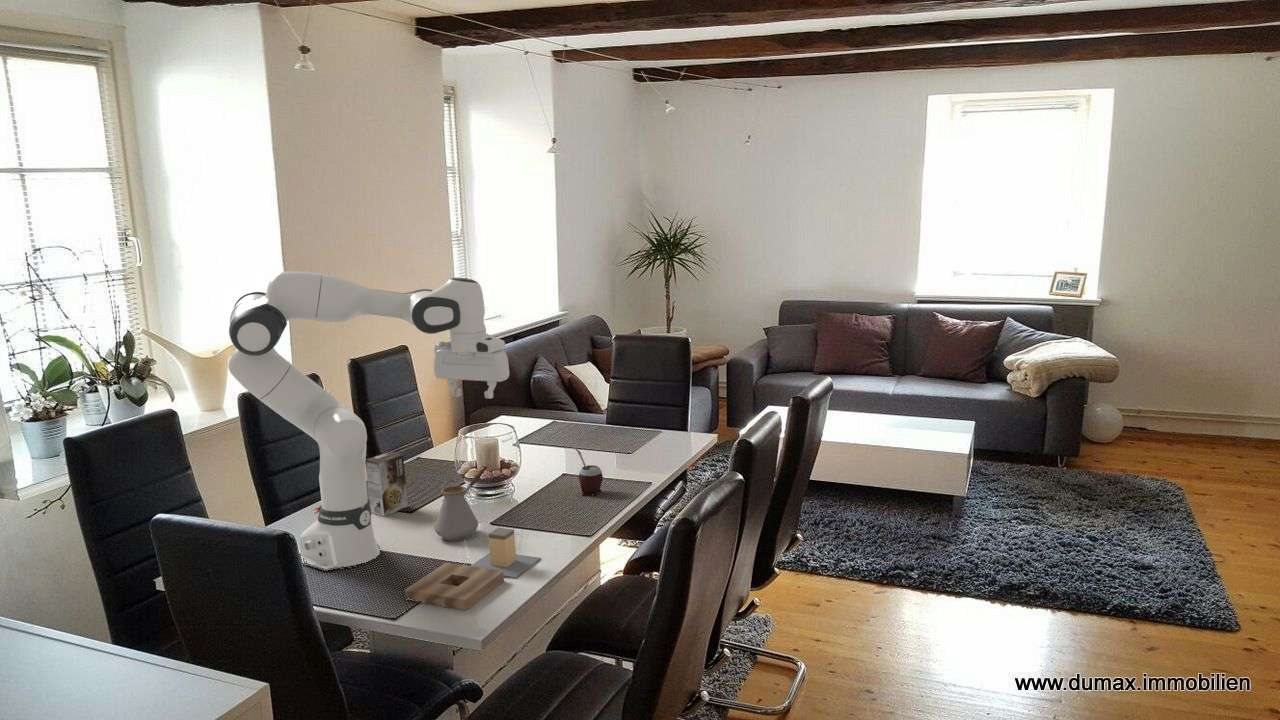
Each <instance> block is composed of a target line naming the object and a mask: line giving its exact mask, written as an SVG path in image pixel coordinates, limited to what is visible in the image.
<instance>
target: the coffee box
mask: <svg viewBox="0 0 1280 720" xmlns="http://www.w3.org/2000/svg"><path fill="white" fill-rule="evenodd" d="M404 461H405V460H404V454H401V453H398V452H393V451H387V452H385V453H381V454H378V455H375V456H372V457H369V458H366V464H365V474H366V483H367V493H368V500H369V501H370V505H371V514H373V513H374V515H378V516H380V517H386V516H389V515H391V514H394V513H396V512H399V511H401V510H403V509H402V508H404V509H406V508H408V507H409V501H408V500H409V498H408V490H407V489H408V488H407V480H406V470H405V469H406V468H405V462H404ZM407 506H408V507H407ZM405 507H406V508H405ZM400 509H401V510H400ZM398 510H399V511H398Z"/></svg>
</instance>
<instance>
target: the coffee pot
mask: <svg viewBox="0 0 1280 720" xmlns="http://www.w3.org/2000/svg"><path fill="white" fill-rule="evenodd" d="M487 469H489V471H488V470H487ZM491 471H492V469H491V467H490V466H487V465H485V466H483V468H482V469H480V471H479V472H478V473H477V474H476V475H475V476H474V478H473V479H472V480H471V481H470V483H469V485H467V487H465V486H462V485H451V486H446V487H444V488H441V491H440V493H441V494H442V496H443V501H442V503H441V506H440V509H439V512H438V515H437V518H436V520H435V523H434V532H435V533H436V534H437V535H438V536H439V537H441V538H442V539H443V540H445V541H448V542H449V541H450V542H456V541H462V540H463V541H464V540H467V539H468V538H470V537H471V536H472V534H474V533H475V531H476V530H477V529H478V525H479V521H478V519H477V517H476V516H475V513H474V512H473V511H472V509H471V507H470V505H469V503H468V502H467V501H468V500H467V499H466V498H465V496H466V494H467V493H468V492H469V490H470V489H471V488H473V486H474V485H475V484H476V483H477V482H478V481H479V480H480V478H481V476H482V475H483V474H485V472H488V473H489V472H491Z"/></svg>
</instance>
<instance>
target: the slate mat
mask: <svg viewBox="0 0 1280 720" xmlns="http://www.w3.org/2000/svg"><path fill="white" fill-rule="evenodd" d="M540 560H542V559H541V557H537V556H531V555H523V554H517V553H516V561H515V562H513V563H512V564H511V565H509V566H508V567H500V566H493V565H491V562H490V552H489V553H487V554H485V555H484V556H482V557H481V558H479V559H478V560H477V561H475V562H474V563H472V565H470V566H473V567H480V568H486V569H493V570H500V571H503V574H504V578H508V579H515V580H516V579H517V578H519V577H520V576H521V575H523V574H524V573H525V572H526V571H528V570H529V569H530V568H532V567H533V566H534V565H536V564H537V563H538V562H539V561H540Z"/></svg>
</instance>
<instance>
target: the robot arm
mask: <svg viewBox="0 0 1280 720" xmlns="http://www.w3.org/2000/svg"><path fill="white" fill-rule="evenodd" d="M482 290H483V289H482V287H481V284H480V283H479V282H478V281H476V280H475V279H471V278H465V277H452V278H449V279H448V280H447V281H446V282H445V283H444V284H442V285H441V286H439V287H438V288H436V289H434V290H433V289H429V288H423V289H421V288H420V289H416V290H414V291H409V292H396V291H390V290H382V289H381V290H380V289H375V288H369V287H366V286H363V285H360V284H358V283H356V282H354V281H351V280H348V279H345V278H342V277H338V276H335V275H330V274H325V273H320V272H311V271H280V272H277V273H276V274H274V275H273V276H272V277H271V279H270V280H269V282H268V284H267V288H266V292H263V291H251V292H248V293H245V294H244V295H242V296H241V297H240V298H238V299H237V301H236V302H235V304H234V305H233V309H232V312H231V314H230V317H229V327H228V334H229V338H230V341H231V342H232V345H233V346H234V347H235V348H236V349H235V350H233V352H232V353H231V356H230V357H229V360H228V363H227V364H228V370H229V372H230V374H231V376H233V377H234V379H235V380H236V381H237V382H238V383H239V384H240V385H241V386H242V387H243V388H244V389H245V390H246V391H248V392H249V393H250V394H251V395H253V396H254V397H255V398H256V399H257V400H259V401H260V402H261V403H263V404H264V405H266V407H269V409H271V410H272V411H274V412H275V413H276V414H278V415H279V416H281V417H282V418H283V419H284V420H285V421H287V422H289V423H290V424H293V426H296V427H297V428H298V429H299V430H300V431H302V432H304V433H305V434H307V435H308V436H310V438H312V439H313V440H315V442H316V443H317V445H318V448H319V475H318V481H319V490H320V491H319V492H320V500H321V505H319V507H317V508H315V509H313V514H318V516H317V519H316V521H314V522H313V523H312V524H311V525H309V526H308V527H307V528H306V529H305V530H304V531H303V532H302V533H301V534H300V537H299V540H298V549H299V550H300V554H301V558H302V562H303V564H304V561H305V562H306V561H307V563H309V564H311V565H315V566H318V567H321V568H324V569H329V568H334V567H342V566H350V565H356V564H360V563H364V562H368V561H370V560H372V559H374V558H375V559H377V558H378V557H379V556H380V554H381V551H380V549H379V546H378V543H377V540H376V536H375V532H374V528H373V524H372V521H371V520H372V513H371V505H370V501H369V494H368V484H367V473H366V459H367V441H368V434H367V428H366V425H365V423H364V421H363V420H362V418H360V417H359V416H358V415H357V414H356V413H354V412H353V411H352V410H351V409H349V408H348V407H347V406H346V405H345V404H344V403H342V402H341V401H339V399H337V398H336V397H335V396H333V395H332V394H330V392H328V391H327V390H325V388H322V387H321V386H320V385H319V384H318V383H316V382H315V381H314V380H313V379H311V378H310V377H309V376H308V375H306V374H305V373H303V372H302V371H301V370H300V369H299V368H297V367H296V366H294V365H293V364H292V363H291V362H290V361H288V360H287V359H285V358H284V357H283V356H282V355H280V354H279V353H278V352H277V351H276V349H275V347H276V346H277V344H278V342H279V341H280V340H281V337H282V335H283V333H284V332H285V329H286V327H287V325H288V321H290V320H293V319H294V320H295V319H298V320H299V319H302V320H309V321H316V322H324V323H336V322H337V323H339V322H341V323H342V322H347V321H350V320H351V319H353V318H356V317H359V316H368V315H371V316H380V317H389V318H398V319H401V320H404V321H407V322H408V323H410V324H411V325H413V326H414V327H415V328H416V329H418V330H419V331H420V332H422V333H424V334H429V335H435V334H438V333H442V332H445V331H449V335H450V338H449V339H450V341H447V342H446V341H445V342H444V341H439V342H438V343H436V344H435V346H434V350H433V351H434V358H433V359H434V362H433V374H434V376H435V377H436V379H440V380H442V379H443V380H447V385H448V386H449V388H450V389H451V391H452V396H453V397H461V396H462V388H459V386H458V384H457V382H458V380H459V381H462V380H463V381H479V382H486V383H487V384H486V385H487V386H488V388H487V390H485V391H483V393H484V394H483V395H484V399H490V400H491V399H493V398H494V390H495V388H496V386H497V384H498V383H501V382H504V381H506V380H508V379H509V377H510V366H509V360H508V359H509V358H508V355H507V353H506V351H505V350H504V349H505V348H506V342H505V341H504V340H503V339H500V338H498V337H496V336H493V335H490V334H489V333H487V328H486V324H485V320H484V319H485V318H484V317H485V313H486V312H485V300H484V295H483V291H482ZM497 382H498V383H497ZM378 555H379V556H378ZM377 556H378V557H377ZM376 557H377V558H376ZM303 558H304V561H303ZM375 559H374V560H375ZM372 561H373V560H372ZM370 562H371V561H370ZM368 563H369V562H368ZM324 565H327V566H324Z"/></svg>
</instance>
